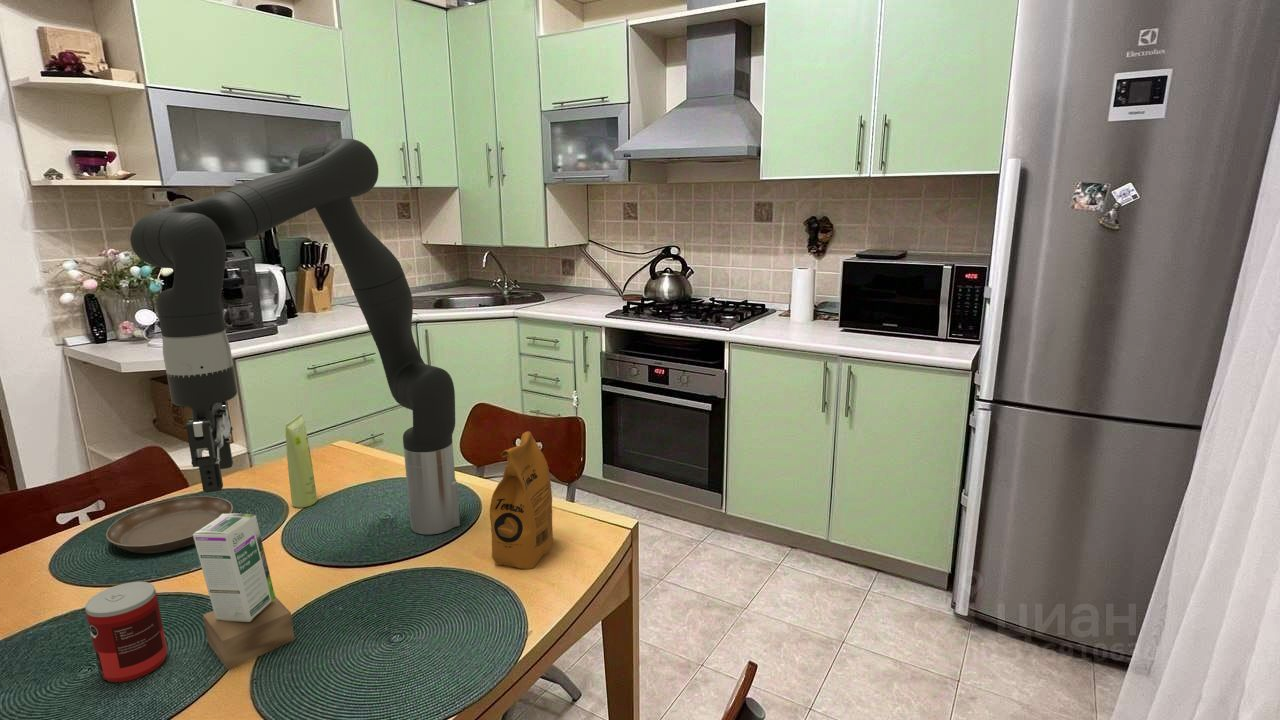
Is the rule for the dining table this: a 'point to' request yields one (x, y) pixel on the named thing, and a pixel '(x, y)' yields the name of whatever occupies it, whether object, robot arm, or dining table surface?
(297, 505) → the tube
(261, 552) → the syrup box
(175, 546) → the plant saucer
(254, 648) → the base block
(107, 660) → the canned food
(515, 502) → the coffee package
